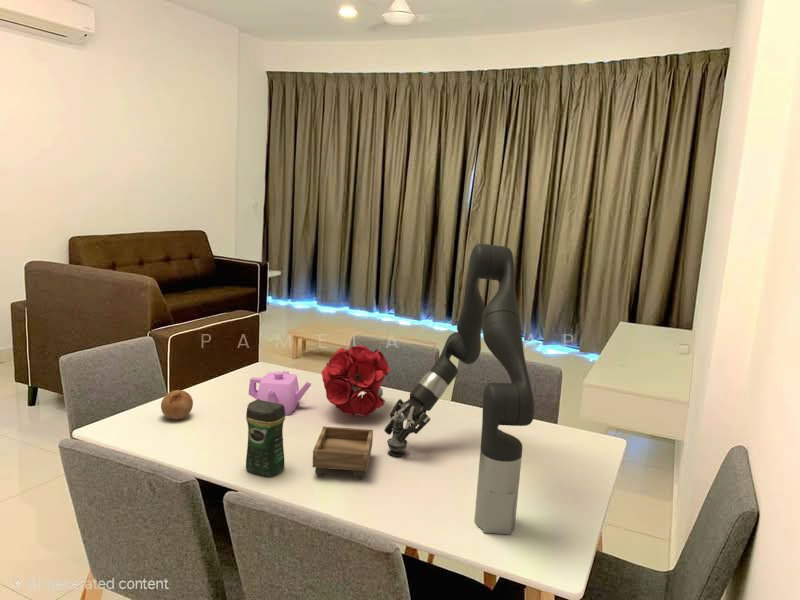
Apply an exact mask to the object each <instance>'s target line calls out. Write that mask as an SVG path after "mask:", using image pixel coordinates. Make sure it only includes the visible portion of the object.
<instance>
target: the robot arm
mask: <svg viewBox="0 0 800 600" xmlns="http://www.w3.org/2000/svg"><path fill="white" fill-rule="evenodd" d="M480 279H483V280H488V281H489V280H490V281H491V280H492V281H497V282H498V284H499V287H498V289H497V292H496V293H495V295H494V296H493V297H492V298H491V300H490V301H489V302H488V304H487V305H485V302H484V299H483V298H482V296H481V293H480V289H479V280H480ZM517 300H518V299H517V294H516V279H515V261H514V254H513V252H512V250H511V248H510V247H507V246H503V245H495V244H488V243H477V244H475V245H474V246H473V248H472V250H471V253H470V257H469V261H468V267H467V274H466V280H465V287H464V295H463V303H462V307H461V311H460V314H459V318H458V321H457V325H456V332H453V333H450V335H449V336H448V338H447V339H446V341H445V343H444V346H443V348H442V351H441V353H440V354H439V357H438V359H437V361H436V362H435V363H434V365H433V366H432V367H431V368H430V369H429V371H428V372H426V373H425V375H424V376H423V377H422V378H421V379H420V380H419V381H418V383H417V384H416V385H415V387H414V388H413V389H412V390H411V392H410V393H409V399H408V400H406V401H404V400H402V399H401V398H399V399H398V400H397V401H396V403H395V405H394V407H393V408H392V410H391V411H390V413H389V417H390V419H391V420H390V421H389V423H387V425H386V426H385V427H384V432H385V434H387V435H388V436H390V435H392V434H393V430H392V428H393V424H394V418H395V417H397V416H398V414H400V417H402V418H403V420H404V421H406V424H405V426H404V427H403V430H402V431H401V432H400V433H399V435H398V436H397V437H396V439H397V440H398V441H399V442H400V443H402V442H403V441H404V440H407V438H408V436H409V435H410V434H412V433H414V434H418V433H420V431H422V429H424V427H425V426H426V425H427V424H428V423H429V422H430V421H431V417H430V416H429V415H428V414H427V412H429V411H431V410H432V409H433V407H434V406H435V405H436V403H437V402H438V401H439V400H440V398H441V397H442V396H443V395H444V394H445V392H446V390H447V389H448V387H449V386H450V385H451V383H452V382H453V380H454V379H455V378H456V376H457V375H458V372H459V369H458V367H457V366H456V365H455V364H454V363H453V361H452V360H451V357H452V356H453V357H454V358H456V359H457V360H459V361H460V362H461V363H463V364H465V365H472V364H474V363H475V362H476V361H478V359H479V358H480V354H481V351H482V338H483V342H484V343H485V345H486V347H487V349H488V350H489V352H490V353H491V354H492V355H493V356H494V357H495V359H497V360H498V361H499V363H500V364H501V365H502V367H503V368H504V369H505V371H506V373H507V374H508V377H509V380H510V381H511V383H509V382H489V383H487V384H486V385H485V388H484V391H483V396H482V421H481V423H482V424H481V437H480V450H479V451H480V453H479V463H478V464H479V465H478V473H477V483H476V485H477V486H476V498H475V511H474V523H475V525H476V527H478V528H480V529H481V530H482V532H483V533H485V534H497V535H499V534H500V535H511V534H512V531H513V530H514V529H515V527H516V517H517V509H518V508H517V507H518V500H519V499H518V497H519V488H520V487H519V486H520V479H521V478H520V477H521V476H520V475H521V469H522V468H521V467H522V457H523V443H522V441H521V440H520V439H519V438H517V437H516V436H514V435H513V434H509V433H508V432H505V431H503V430H501V429H499V426H508V427H509V426H510V427H516V426H517V427H524V426H529V425H530V424H532V422H533V421H534V417H535V402H534V400H535V399H534V393H533V389H532V385H531V381H530V380H531V379H530V375H529V372H528V368H527V362H526V358H525V350H524V343H523V334H522V326H521V325H522V324H521V318H520V313H519V309H518V308H519V307H518V302H517ZM481 332H482V333H481ZM481 334H482V335H481ZM481 337H482V338H481Z"/></svg>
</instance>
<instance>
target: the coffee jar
mask: <svg viewBox="0 0 800 600" xmlns="http://www.w3.org/2000/svg"><path fill="white" fill-rule="evenodd" d="M285 419H286V415H285V408H284V405H283V404H277V403H273V402H268V401H262V400H260V399H254V400H253V401H251V402H249V403H248V404H247V409H246V416H245V420H246V423H247V429H248V430H247V434H248V435H247V449H246V457H245V458H246V459H245V469H246V470H247V471H248V472H250V473H252V474H256V475H259V476H265V477H271V476H275V475H278V474H279V473H281V472H282V471H283V469H285V451H284V438H283V437H284V435H283V434H284V433H283V427H284V422H285Z"/></svg>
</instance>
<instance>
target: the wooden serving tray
mask: <svg viewBox="0 0 800 600" xmlns="http://www.w3.org/2000/svg"><path fill="white" fill-rule="evenodd" d="M320 431H321V432H320V434H319V436H318V438H317V440H316V443H315V445H314V448H313V450H312V468H314V469H315V470H314V472H315V474H316V476H317V477H320V476H322V477H325V475H326V474H327V472H328V470H329V469H330V470H331V469H332V470H345V471H346V470H347V471H353V476H354V478H355V479H357V480H362V479H364V478H365V477H366V474H367V473H366V472H367V471H368V468H369V462H370V458H371V454H372V453H371V452H372V448H373V440H374V439H373V438H374V435H373V434H374V429H369V428H368V429H366V428H353V427H349V428H348V427H339V426H338V427H336V426H335V427H334V426H323V427H322V429H321V430H320Z"/></svg>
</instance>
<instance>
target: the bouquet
mask: <svg viewBox="0 0 800 600" xmlns="http://www.w3.org/2000/svg"><path fill="white" fill-rule="evenodd" d="M320 372H321V376H322V382H323V387H324V389H325V394H326V395H325V397H326V399H327V400H328V402H329V403H330V404H332V405H334V406H335V407H336V409H338V411H340V412H341V413H344V414H347V415H349V416H353V417H354V416H356V415H358V416H363V417H368V416H369V415H371V414H373V413H374V412H375V411H376V410H379V409H380V408H381V407H382V406H384V405H385V403H386V401H385V400H384V398H383V395H384V390H383V388H382V387H381V386H382V383H383V381H384V379H385V378H384V377H386V376H388V375H389V373H390V372H391V369H390V366H389V363H388V361H387V360H386V357H384V354H383V353H382V352H381V351H380V350H379V349H376V350H374V351H372V350H370V349H369V348H368V346H366V345H356V346H351V347H350V348H348V349H347V348H345V347H341V348H339V349H338V350H336V352H335V353H333V355H332V357H330V359H329V360H328V362H327V363H326V366H324V368H323V369H322V371H320ZM362 392H363V393H364V394H361V393H362Z"/></svg>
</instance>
